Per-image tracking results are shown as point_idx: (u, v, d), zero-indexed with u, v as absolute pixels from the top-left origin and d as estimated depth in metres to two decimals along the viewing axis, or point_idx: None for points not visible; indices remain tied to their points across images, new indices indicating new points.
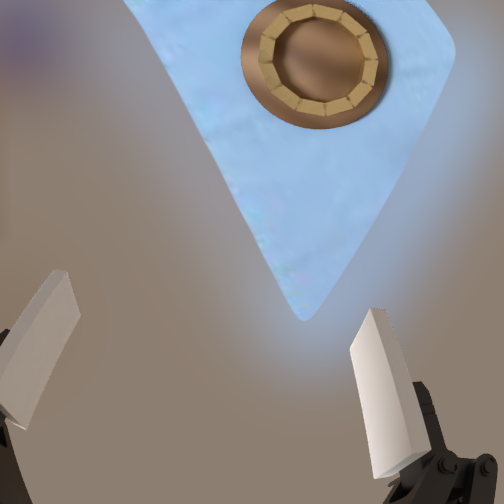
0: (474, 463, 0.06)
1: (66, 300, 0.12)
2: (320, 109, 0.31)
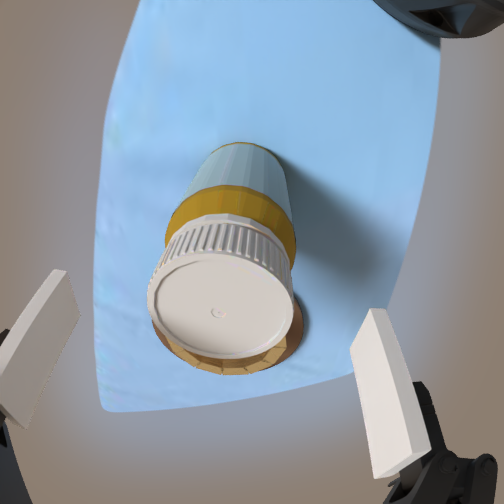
0: (474, 463, 0.06)
1: (66, 300, 0.12)
2: (194, 362, 0.35)
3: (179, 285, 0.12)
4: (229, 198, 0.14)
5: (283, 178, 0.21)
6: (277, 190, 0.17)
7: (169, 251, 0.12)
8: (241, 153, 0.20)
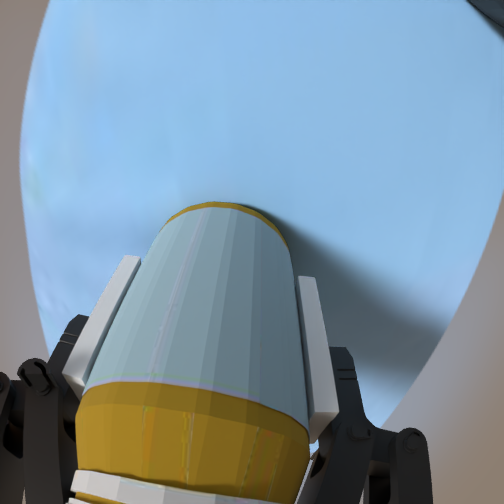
0: (394, 441, 0.07)
1: None
2: None
3: None
4: (167, 434, 0.05)
5: (289, 278, 0.12)
6: (280, 348, 0.08)
7: None
8: (212, 239, 0.11)
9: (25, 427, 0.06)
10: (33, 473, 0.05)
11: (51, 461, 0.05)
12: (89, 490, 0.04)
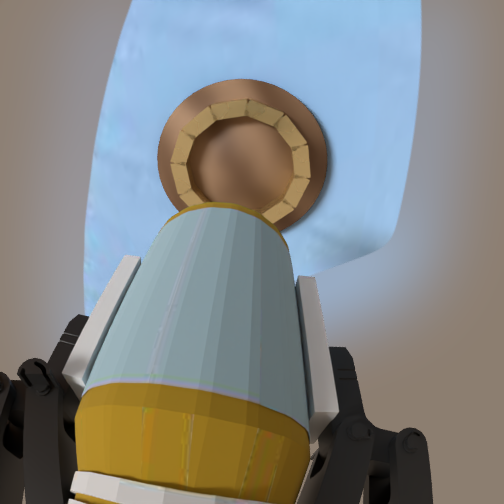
0: (394, 441, 0.07)
1: None
2: None
3: None
4: (167, 436, 0.05)
5: (289, 278, 0.12)
6: (280, 349, 0.08)
7: None
8: (211, 239, 0.11)
9: (25, 427, 0.06)
10: (33, 473, 0.05)
11: (51, 461, 0.05)
12: (88, 491, 0.04)
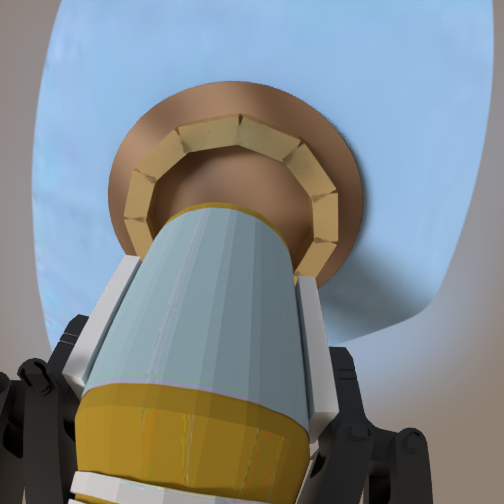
0: (394, 441, 0.07)
1: None
2: None
3: None
4: (167, 436, 0.05)
5: (289, 278, 0.12)
6: (280, 349, 0.08)
7: None
8: (211, 240, 0.11)
9: (25, 427, 0.06)
10: (33, 473, 0.05)
11: (50, 461, 0.05)
12: (88, 491, 0.04)
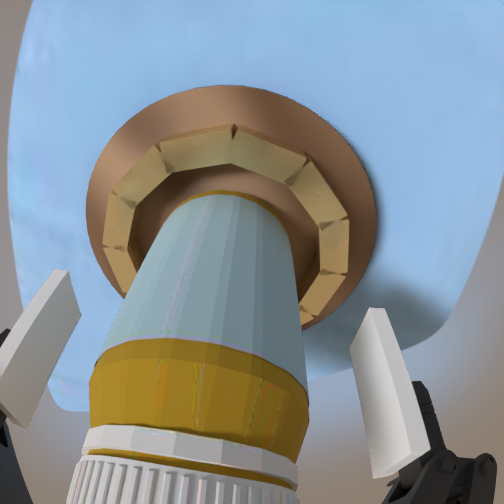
0: (473, 463, 0.06)
1: (67, 300, 0.12)
2: None
3: None
4: (179, 383, 0.06)
5: (288, 258, 0.13)
6: (280, 315, 0.09)
7: (77, 495, 0.04)
8: (218, 221, 0.12)
9: None
10: None
11: None
12: (102, 443, 0.05)
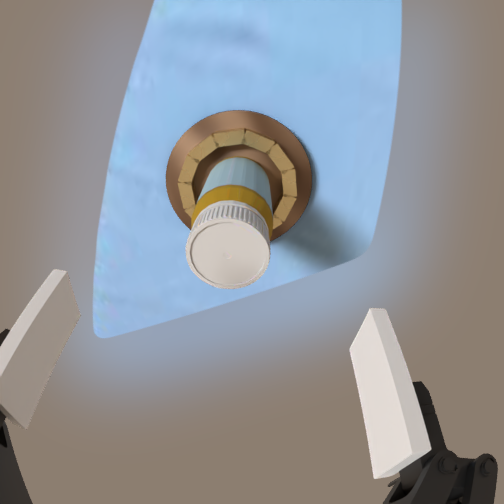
0: (474, 463, 0.06)
1: (66, 300, 0.12)
2: None
3: (206, 237, 0.22)
4: (233, 192, 0.24)
5: (267, 181, 0.31)
6: (262, 188, 0.27)
7: (200, 219, 0.22)
8: (238, 164, 0.30)
9: None
10: None
11: None
12: (208, 208, 0.23)
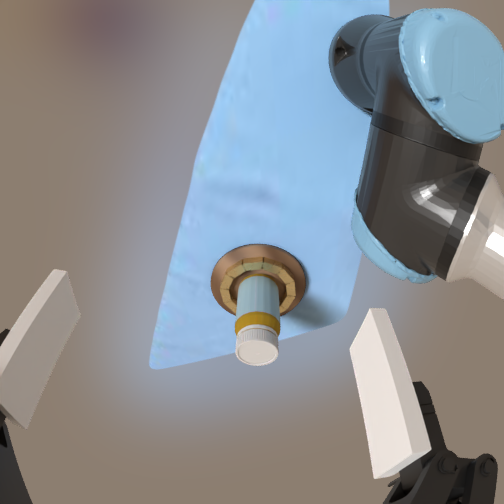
0: (474, 463, 0.06)
1: (66, 300, 0.12)
2: None
3: (246, 346, 0.42)
4: (259, 317, 0.44)
5: (276, 293, 0.51)
6: (274, 307, 0.47)
7: (243, 337, 0.42)
8: (259, 286, 0.50)
9: None
10: None
11: None
12: (246, 329, 0.43)
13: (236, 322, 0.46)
